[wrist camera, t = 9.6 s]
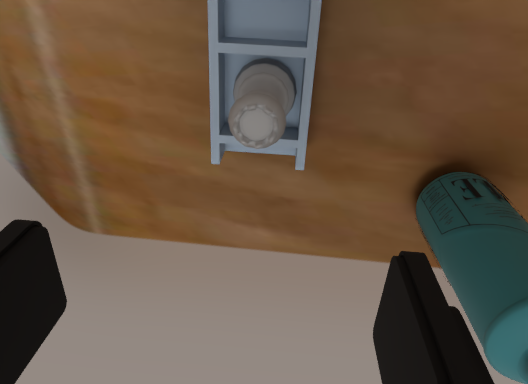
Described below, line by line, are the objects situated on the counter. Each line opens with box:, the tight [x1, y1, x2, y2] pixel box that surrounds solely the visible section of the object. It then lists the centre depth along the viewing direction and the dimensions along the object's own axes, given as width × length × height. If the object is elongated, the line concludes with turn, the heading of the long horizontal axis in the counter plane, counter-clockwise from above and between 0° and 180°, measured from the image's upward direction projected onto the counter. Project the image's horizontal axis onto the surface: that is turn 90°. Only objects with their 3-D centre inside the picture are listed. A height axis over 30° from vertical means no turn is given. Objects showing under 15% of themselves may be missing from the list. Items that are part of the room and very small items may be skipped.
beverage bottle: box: [416, 172, 528, 384], centre depth 25 cm, size 6×7×20 cm
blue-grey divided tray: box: [208, 0, 322, 170], centre depth 24 cm, size 7×18×10 cm, turn 178°
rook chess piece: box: [228, 58, 297, 149], centre depth 25 cm, size 4×4×8 cm
